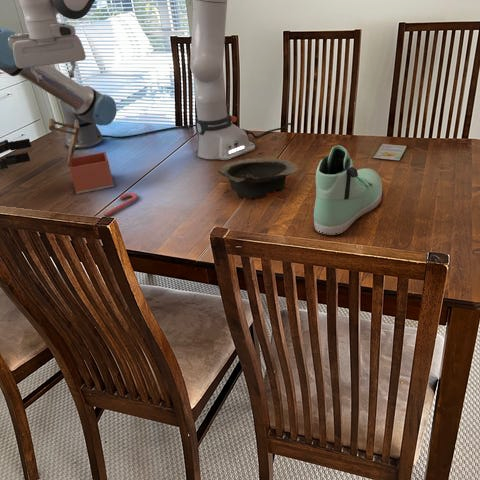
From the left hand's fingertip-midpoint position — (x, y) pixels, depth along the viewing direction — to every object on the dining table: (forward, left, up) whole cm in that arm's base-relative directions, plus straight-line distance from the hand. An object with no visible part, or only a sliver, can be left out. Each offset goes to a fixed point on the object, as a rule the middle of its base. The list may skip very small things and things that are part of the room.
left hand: (29, 149), depth 154 cm
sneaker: (-63, +78, -16) cm, 102 cm away
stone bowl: (-54, +49, -16) cm, 75 cm away
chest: (-16, +5, -16) cm, 23 cm away
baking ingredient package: (-106, +61, -16) cm, 123 cm away
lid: (-13, +4, -1) cm, 14 cm away
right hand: (-13, +4, +20) cm, 24 cm away
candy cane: (-15, +28, -16) cm, 35 cm away
